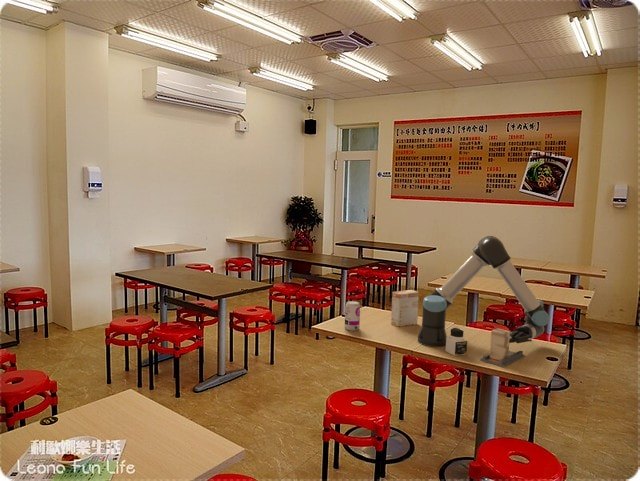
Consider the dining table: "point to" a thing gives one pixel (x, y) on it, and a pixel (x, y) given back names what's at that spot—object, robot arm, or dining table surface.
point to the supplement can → (352, 315)
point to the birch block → (499, 344)
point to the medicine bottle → (456, 342)
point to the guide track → (505, 361)
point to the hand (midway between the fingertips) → (503, 341)
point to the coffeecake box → (404, 307)
